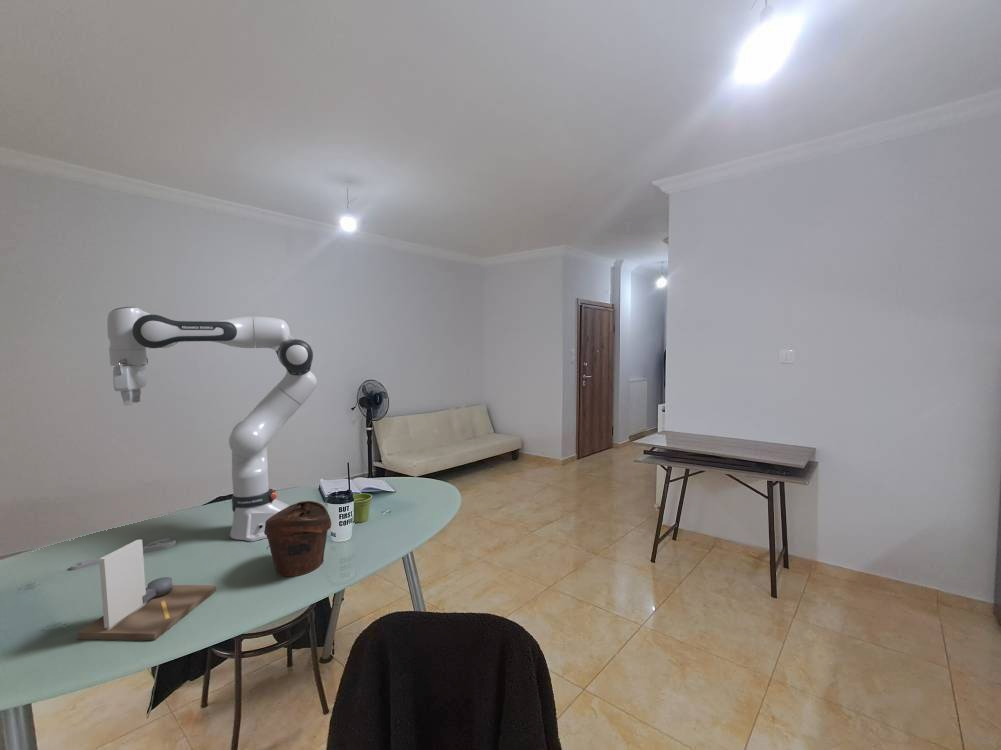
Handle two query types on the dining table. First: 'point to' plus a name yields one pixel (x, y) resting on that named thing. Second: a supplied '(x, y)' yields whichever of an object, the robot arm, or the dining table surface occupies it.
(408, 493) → the dining table surface
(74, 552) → the dining table surface
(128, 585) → the white upright panel
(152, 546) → the adjustable wrench
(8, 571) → the dining table surface
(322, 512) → the case
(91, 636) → the dial board
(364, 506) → the plant pot
